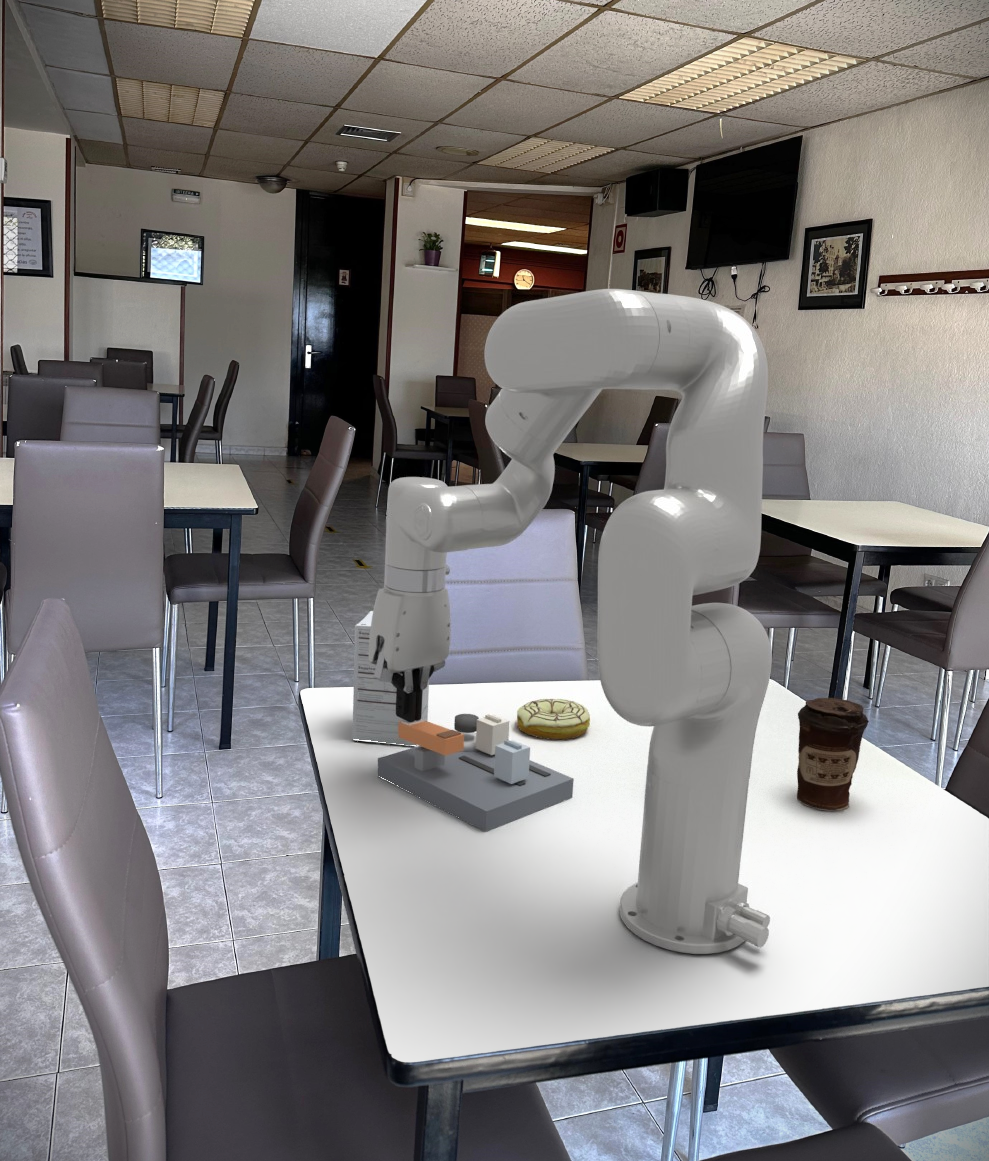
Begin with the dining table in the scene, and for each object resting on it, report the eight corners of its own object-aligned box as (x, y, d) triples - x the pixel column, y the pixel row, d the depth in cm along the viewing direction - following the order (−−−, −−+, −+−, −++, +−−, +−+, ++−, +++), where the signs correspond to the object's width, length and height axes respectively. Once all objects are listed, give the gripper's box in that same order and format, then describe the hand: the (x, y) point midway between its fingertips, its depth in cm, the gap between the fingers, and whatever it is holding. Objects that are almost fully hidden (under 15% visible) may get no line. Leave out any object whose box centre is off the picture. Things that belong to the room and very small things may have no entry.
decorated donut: (514, 717, 155) (516, 693, 154) (584, 719, 155) (586, 696, 154) (517, 741, 145) (519, 716, 144) (592, 744, 145) (594, 719, 144)
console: (572, 797, 126) (574, 759, 125) (485, 831, 116) (487, 791, 115) (463, 749, 140) (465, 715, 139) (377, 776, 130) (378, 739, 129)
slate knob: (528, 778, 124) (530, 744, 123) (511, 784, 122) (513, 749, 121) (511, 770, 126) (512, 737, 125) (493, 776, 124) (495, 742, 123)
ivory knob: (507, 750, 133) (509, 718, 132) (491, 755, 131) (493, 723, 130) (492, 743, 135) (493, 711, 134) (475, 748, 133) (477, 716, 132)
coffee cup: (862, 821, 123) (875, 720, 121) (791, 812, 125) (803, 712, 122) (852, 793, 132) (864, 697, 129) (786, 785, 133) (796, 690, 131)
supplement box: (416, 748, 140) (420, 630, 136) (351, 742, 141) (353, 625, 137) (428, 724, 149) (432, 613, 146) (367, 719, 150) (369, 608, 147)
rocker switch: (463, 750, 125) (463, 733, 124) (445, 755, 123) (445, 738, 122) (416, 732, 131) (416, 716, 131) (398, 737, 129) (398, 720, 129)
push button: (483, 729, 135) (483, 718, 134) (465, 734, 132) (466, 723, 132) (467, 722, 137) (467, 712, 137) (449, 727, 135) (449, 717, 134)
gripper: (440, 565, 133) (433, 698, 137) (347, 579, 123) (342, 721, 127) (479, 577, 128) (471, 714, 132) (386, 592, 118) (380, 740, 122)
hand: (408, 717), depth 130 cm, fingers closed
